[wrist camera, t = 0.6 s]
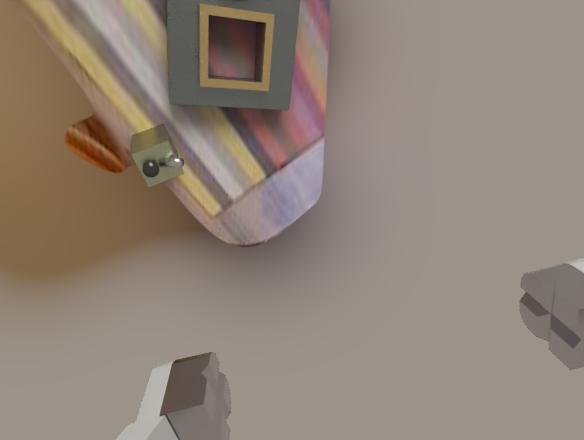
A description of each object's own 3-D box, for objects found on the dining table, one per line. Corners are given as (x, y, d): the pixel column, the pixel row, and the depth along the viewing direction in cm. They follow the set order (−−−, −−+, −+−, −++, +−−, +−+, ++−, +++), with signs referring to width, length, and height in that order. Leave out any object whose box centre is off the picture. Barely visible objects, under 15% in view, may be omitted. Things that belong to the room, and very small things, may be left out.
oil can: (132, 135, 49) (130, 161, 40) (169, 121, 50) (176, 144, 40) (147, 164, 52) (149, 195, 42) (182, 150, 53) (192, 178, 43)
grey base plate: (161, -118, 39) (163, -133, 36) (299, -83, 45) (313, -93, 41) (169, 100, 49) (171, 106, 45) (282, 106, 55) (292, 112, 51)
